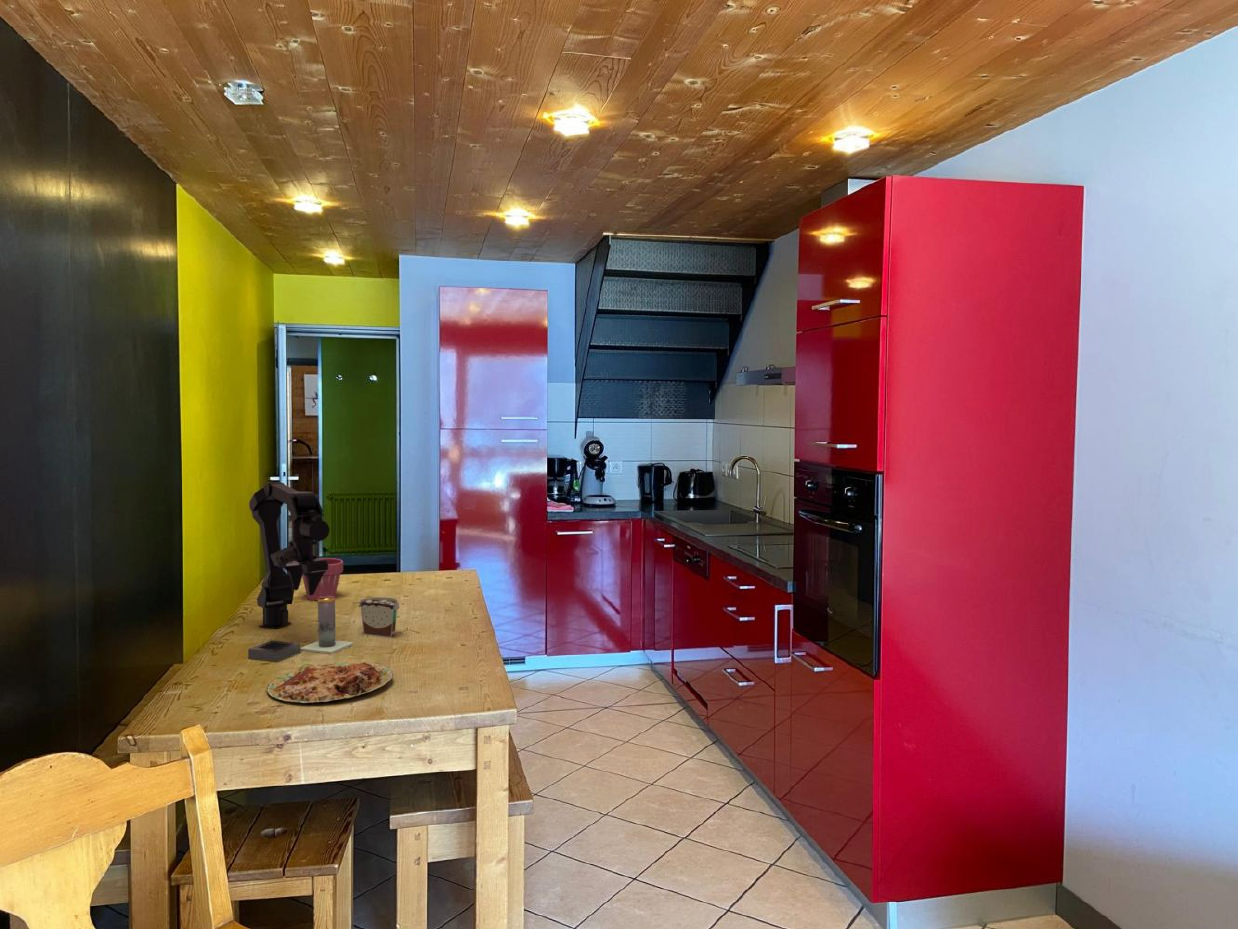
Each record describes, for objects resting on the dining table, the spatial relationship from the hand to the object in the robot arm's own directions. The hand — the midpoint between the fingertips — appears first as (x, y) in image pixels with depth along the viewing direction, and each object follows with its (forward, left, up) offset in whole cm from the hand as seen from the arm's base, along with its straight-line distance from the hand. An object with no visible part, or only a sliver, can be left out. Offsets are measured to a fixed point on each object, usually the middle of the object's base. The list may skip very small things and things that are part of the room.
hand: (303, 592), depth 239 cm
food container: (+18, +12, -13) cm, 25 cm away
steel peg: (+12, -6, -12) cm, 18 cm away
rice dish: (+33, -33, -14) cm, 49 cm away
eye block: (+4, -17, -13) cm, 22 cm away
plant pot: (-28, +46, -13) cm, 55 cm away
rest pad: (+12, -6, -13) cm, 19 cm away
